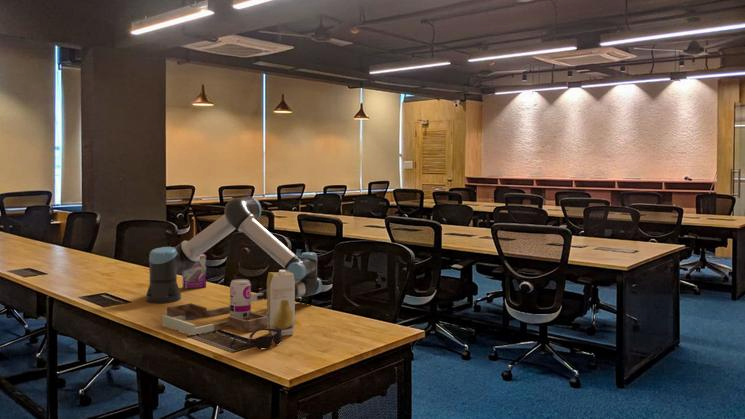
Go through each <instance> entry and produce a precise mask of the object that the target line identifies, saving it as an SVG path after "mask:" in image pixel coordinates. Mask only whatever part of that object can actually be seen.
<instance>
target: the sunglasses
mask: <svg viewBox="0 0 745 419" xmlns="http://www.w3.org/2000/svg"><path fill="white" fill-rule="evenodd" d="M259 331H267V332H268V331H273V332H277V333H276V334H275V335H273V336H272V335H261V336H257V337H256V338H252V337H254V335H255V334H256V333H257V332H259ZM282 337H283V336H281V330H277V329H268V328H262V329H257V330H254V331H252V332H251V333H250V334H249V338H247V337H241V336H237V335H236V336H234V338H233V341H234V342H233V341H232V342H233V343H235V342H236V339H238V340H242V341H246V342H250V343H253V344H254V346H255V348H256V349H257V350H259V349H261V348H268V347H269V348H270V347H271V346H272V343H274V344H275V345H276V346H278V345H277V344H279V343H280V342H281V343H282ZM281 343H280V344H281ZM280 344H279V345H280ZM269 348H268V349H269Z"/></svg>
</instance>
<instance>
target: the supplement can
mask: <svg viewBox="0 0 745 419" xmlns="http://www.w3.org/2000/svg"><path fill="white" fill-rule="evenodd" d="M229 286H230V287H229V306H230V313H229V316H233V317H236V318H240V319H243V320H246V319H249V312H252V307H251V306H252V302H251V295H252V294H251V293H252V292H251V291H252V290H251V289H252V284H251V281H250V280H249V279H245V278H244V279H243V278H239V279H232V280H231V282H230V285H229Z"/></svg>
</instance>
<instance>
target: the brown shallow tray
mask: <svg viewBox="0 0 745 419" xmlns="http://www.w3.org/2000/svg"><path fill="white" fill-rule="evenodd" d="M166 309H167V310H166V311H167V312H166V315H167V316H170V317H177V316H184V317H185V318H183V319H185V322H187V321H192V320H196V319H200V318H203V319H206V318H209V317H211V318H212V317H216V316H220V315H225V314H230V305H228V306H223V307H218V308H211V309H208V308H207V307H206V306H202V305H199V304H196V303H192V302H191V303H190V302H189V303H185V304H180V305H175V306H167V307H166ZM186 320H187V321H186ZM213 324H214V331H213V332H216V331H220V330H224V329H228V328H229V329H234V330H237V331H241V332H244V333H250V332H254V331H255V330H257V329H262V328H266V327H267V311H265V312H260V313H257V312H254V311H251V312H249V318H248V320H246V319H240V318H236V317H233V316H230V315H229V316H227V320H224V321H219V322H214V323H213ZM266 329H267V328H266Z"/></svg>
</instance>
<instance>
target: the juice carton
mask: <svg viewBox="0 0 745 419" xmlns="http://www.w3.org/2000/svg"><path fill="white" fill-rule="evenodd" d="M295 281H296V280H294V275H293V273H291V272H289V271H287V270H286V269H279V270H278V272H274V271H273V272H271V271H270V272H268V274H267V279H266V289H267V299H266V312H267V328H266V329H277V330H281V337H284V336H285V335H286V336H292V334H293V335H294V330H295V323H296V322H295V319H296V318H295V316H296V315H295V314H296V313H295V312H296V310H295V309H296V308H295V306H296V303H295V302H296V298H295ZM267 332H268V334H270V336H273V335H275V334H276V333H277V332H273V331H267Z"/></svg>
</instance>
